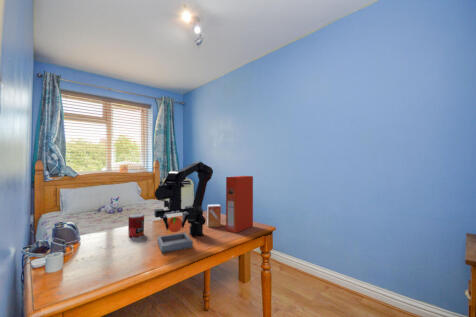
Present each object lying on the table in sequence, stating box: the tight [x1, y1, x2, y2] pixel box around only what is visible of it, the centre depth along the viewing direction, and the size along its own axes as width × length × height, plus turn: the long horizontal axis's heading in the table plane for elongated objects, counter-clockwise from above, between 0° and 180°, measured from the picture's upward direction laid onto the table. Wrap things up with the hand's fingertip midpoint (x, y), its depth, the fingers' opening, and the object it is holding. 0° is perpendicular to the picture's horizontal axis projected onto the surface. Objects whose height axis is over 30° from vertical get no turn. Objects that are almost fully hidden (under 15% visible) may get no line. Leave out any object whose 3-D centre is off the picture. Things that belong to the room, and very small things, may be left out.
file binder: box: [225, 175, 254, 234], centre depth 131 cm, size 8×17×32 cm, turn 143°
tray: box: [156, 232, 194, 254], centre depth 104 cm, size 14×14×3 cm
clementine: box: [168, 216, 182, 233], centre depth 104 cm, size 8×7×7 cm
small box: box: [206, 203, 222, 228], centre depth 137 cm, size 8×6×13 cm
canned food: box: [127, 212, 145, 238], centre depth 117 cm, size 8×8×11 cm
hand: (174, 229), depth 104 cm, fingers closed on clementine, 7 cm apart
